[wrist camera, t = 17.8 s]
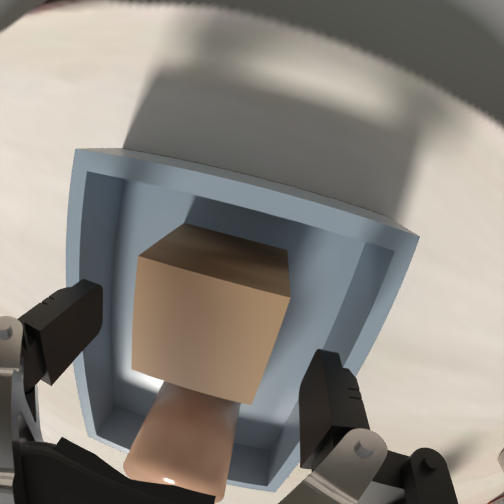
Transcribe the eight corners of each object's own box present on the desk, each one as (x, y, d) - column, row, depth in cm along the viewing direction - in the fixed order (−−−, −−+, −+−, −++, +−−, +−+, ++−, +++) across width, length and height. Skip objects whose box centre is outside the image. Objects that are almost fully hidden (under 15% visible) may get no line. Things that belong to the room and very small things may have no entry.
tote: (385, 215, 14) (419, 236, 10) (277, 450, 19) (274, 492, 16) (121, 148, 14) (75, 148, 10) (109, 401, 19) (88, 436, 16)
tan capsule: (249, 377, 16) (233, 478, 10) (232, 426, 18) (215, 512, 11) (167, 354, 16) (119, 443, 10) (162, 406, 18) (126, 485, 11)
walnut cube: (287, 250, 14) (290, 298, 9) (260, 337, 15) (251, 405, 11) (183, 222, 14) (138, 255, 9) (169, 312, 16) (131, 369, 11)
